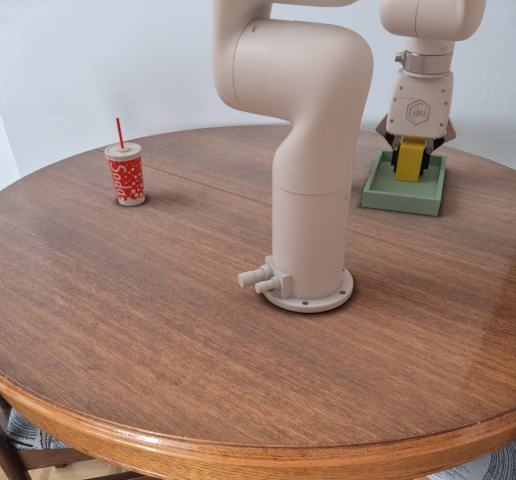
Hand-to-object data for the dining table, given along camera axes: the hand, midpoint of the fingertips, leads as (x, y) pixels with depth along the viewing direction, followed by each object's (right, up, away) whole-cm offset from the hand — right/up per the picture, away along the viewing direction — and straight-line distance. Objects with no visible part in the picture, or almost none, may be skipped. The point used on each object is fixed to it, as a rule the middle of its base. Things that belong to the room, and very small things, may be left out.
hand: (408, 169), depth 100 cm
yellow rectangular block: (0, -1, 0) cm, 1 cm away
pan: (-1, -4, -2) cm, 5 cm away
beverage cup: (-50, -7, -4) cm, 51 cm away
